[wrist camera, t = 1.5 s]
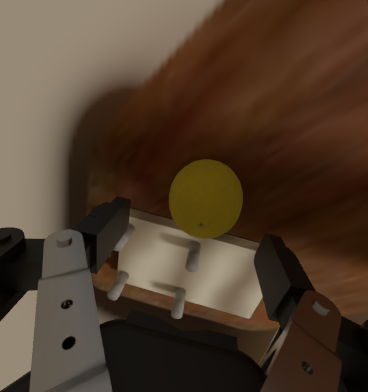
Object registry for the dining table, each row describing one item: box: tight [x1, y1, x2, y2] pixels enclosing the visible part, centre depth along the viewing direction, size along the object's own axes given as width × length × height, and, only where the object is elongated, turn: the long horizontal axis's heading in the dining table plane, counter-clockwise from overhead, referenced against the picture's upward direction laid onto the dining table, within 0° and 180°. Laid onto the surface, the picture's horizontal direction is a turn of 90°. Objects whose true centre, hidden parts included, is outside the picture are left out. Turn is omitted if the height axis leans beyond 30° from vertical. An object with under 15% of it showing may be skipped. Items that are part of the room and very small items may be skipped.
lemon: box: [169, 159, 243, 239], centre depth 15 cm, size 6×6×8 cm
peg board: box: [107, 208, 263, 319], centre depth 21 cm, size 17×10×4 cm, turn 78°
